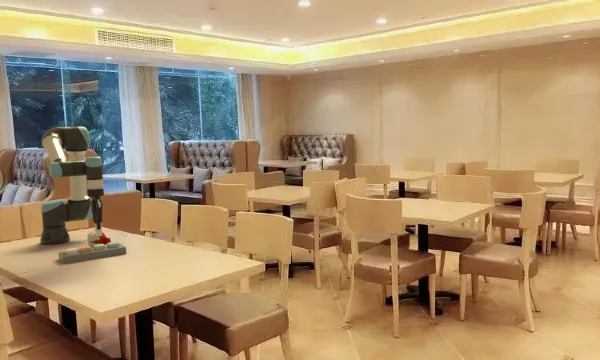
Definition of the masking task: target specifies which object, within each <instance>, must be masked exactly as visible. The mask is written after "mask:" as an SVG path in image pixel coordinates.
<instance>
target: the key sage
mask: <svg viewBox="0 0 600 360" xmlns="http://www.w3.org/2000/svg"><path fill="white" fill-rule="evenodd" d="M105 246H106V245H104V244H98V245H94V250H95V251H96V250H102V249H105Z"/></svg>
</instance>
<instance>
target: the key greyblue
mask: <svg viewBox="0 0 600 360" xmlns="http://www.w3.org/2000/svg"><path fill="white" fill-rule="evenodd" d="M106 245H107V247H108V248H115V247H119V242H117V241H114V242H113V241H111V242H110V243H107V244H106Z"/></svg>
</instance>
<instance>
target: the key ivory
mask: <svg viewBox="0 0 600 360" xmlns="http://www.w3.org/2000/svg"><path fill="white" fill-rule="evenodd" d="M77 250H78V249H77V248H76V247H73V248H72V247H71V248H66V249H65V250H64V252H66V255H70V254H76V253H77Z"/></svg>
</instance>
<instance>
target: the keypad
mask: <svg viewBox="0 0 600 360" xmlns="http://www.w3.org/2000/svg"><path fill="white" fill-rule="evenodd" d="M118 243H119V242H118ZM91 249H92V251H89V252H83V253H81V252H80V249H77V253H76V254H70V255H66V252H65V251H62V252H58V260H59V261H60V262H61V263H63V264H70V263H76V262H82V261H88V260H93V259H95V260H96V259H101V258H106V257H113V256H117V255H118V256H119V255H124V254H127V246H125V245H123V244H121V243H119V247H115V248H108V247H107V244H106V245H105V249H102V250H96V251H95V250H94V247H93V248H92V247H91Z"/></svg>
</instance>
